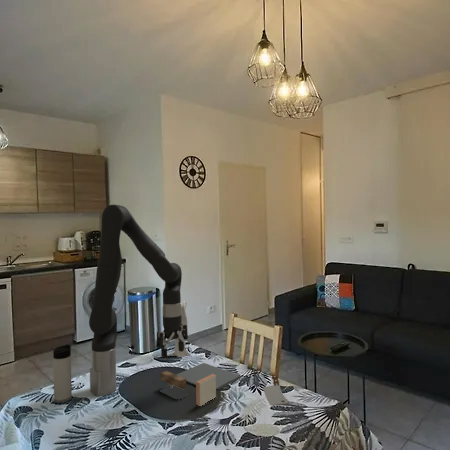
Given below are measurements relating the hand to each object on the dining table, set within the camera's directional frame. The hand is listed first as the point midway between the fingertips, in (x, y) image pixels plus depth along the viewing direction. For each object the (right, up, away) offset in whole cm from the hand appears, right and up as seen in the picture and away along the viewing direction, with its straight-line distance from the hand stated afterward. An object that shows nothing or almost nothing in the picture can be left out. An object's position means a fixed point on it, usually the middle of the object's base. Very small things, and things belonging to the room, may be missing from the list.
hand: (173, 354), depth 145 cm
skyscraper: (-2, -15, +40) cm, 43 cm away
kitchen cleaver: (+40, -15, +1) cm, 43 cm away
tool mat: (+13, -15, +13) cm, 24 cm away
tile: (+14, -15, -8) cm, 22 cm away
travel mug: (-42, -16, -4) cm, 45 cm away
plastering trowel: (+1, -15, -1) cm, 15 cm away
